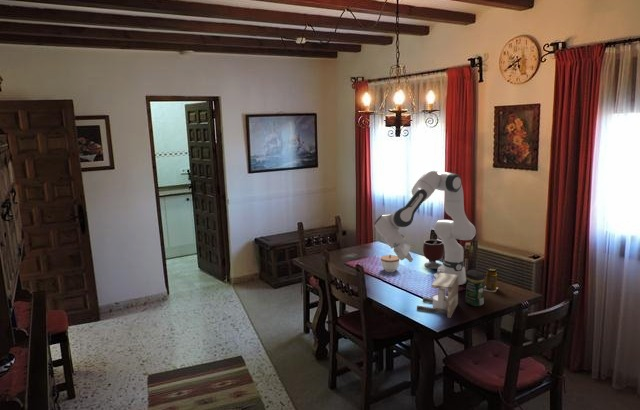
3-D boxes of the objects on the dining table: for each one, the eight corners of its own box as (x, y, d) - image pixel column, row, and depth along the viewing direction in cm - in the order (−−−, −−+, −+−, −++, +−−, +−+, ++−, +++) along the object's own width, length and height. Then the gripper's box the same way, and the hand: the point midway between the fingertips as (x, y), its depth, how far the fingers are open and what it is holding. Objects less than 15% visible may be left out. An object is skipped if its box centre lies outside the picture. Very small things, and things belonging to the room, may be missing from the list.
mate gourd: (421, 262, 315) (421, 235, 312) (440, 262, 315) (441, 235, 311) (425, 269, 300) (426, 241, 296) (446, 269, 299) (446, 240, 296)
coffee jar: (462, 302, 244) (463, 270, 241) (472, 299, 248) (473, 267, 245) (475, 308, 236) (476, 275, 233) (486, 304, 239) (487, 272, 236)
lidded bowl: (379, 273, 297) (379, 257, 295) (381, 267, 309) (381, 252, 307) (398, 273, 294) (398, 258, 292) (400, 267, 306) (400, 252, 304)
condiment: (498, 287, 263) (499, 268, 261) (495, 292, 256) (496, 272, 254) (485, 285, 267) (486, 266, 265) (482, 290, 260) (483, 270, 258)
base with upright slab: (449, 312, 231) (449, 291, 229) (431, 311, 234) (432, 289, 232) (450, 306, 239) (451, 285, 237) (433, 304, 242) (434, 283, 240)
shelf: (415, 312, 233) (415, 282, 230) (424, 298, 251) (425, 271, 248) (450, 317, 225) (451, 287, 222) (457, 303, 242) (458, 275, 239)
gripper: (397, 242, 232) (414, 263, 231) (402, 233, 252) (418, 252, 251) (388, 249, 235) (404, 269, 234) (394, 240, 254) (409, 258, 253)
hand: (411, 260), depth 242 cm, fingers closed
